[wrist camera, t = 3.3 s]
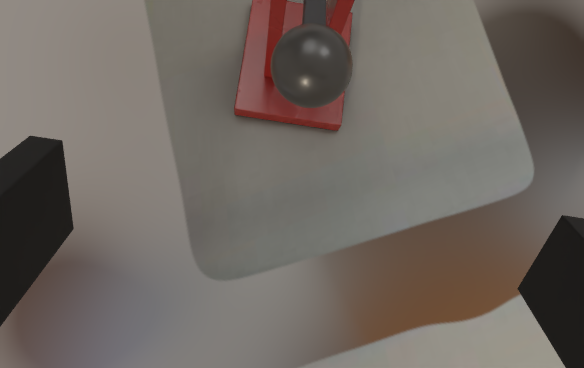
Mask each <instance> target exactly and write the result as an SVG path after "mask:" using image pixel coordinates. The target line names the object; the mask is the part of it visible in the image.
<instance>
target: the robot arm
mask: <svg viewBox="0 0 584 368" xmlns="http://www.w3.org/2000/svg"><path fill="white" fill-rule="evenodd" d="M64 159H65V158H64V151H63V143H62V140H55V139H48V138H41V137H35V136H29V137H28V138H27V139H26V140H24V141H23V142H21V143H20V144H19V145H18V146H16V147H15V148H14V149H12V150H11V151H10V152H8V153H7V154H6V155H5V156H3V157H2V158H1V159H0V326H1V325H2V323H3V322H4V321H5V319H6V318H7V317H8V315H9V314H10V313H11V311H12V310H13V309H14V307H15V306H16V304H17V303H18V302H19V301H20V300H21V298H22V297H23V295H24V294H25V293H26V292H27V290H28V289H29V288H30V286H31V285H32V284H33V282H34V281H35V280H36V278H37V277H38V275H39V274H40V273H41V271H42V270H43V269H44V267H45V266H46V265H47V263H48V262H49V261H50V259H51V258H52V257H53V256H54V254H55V253H56V252H57V250H58V249H59V248H60V246H61V245H62V243H63V242H64V241H65V240H66V238H67V237H68V236H69V234H70V233H71V232H72V230H73V221H72V213H71V205H70V198H69V190H68V183H67V174H66V166H65V160H64ZM518 290H519V292H520V294H521V295H522V297H523V298H524V300H525V302H526V303H527V305H528V307H529V308H530V310H531V312H532V313H533V315H534V316H535V318H536V320H537V321H538V323H539V325H540V326H541V328H542V330H543V331H544V333H545V334H546V336H547V338H548V339H549V341H550V343H551V344H552V346H553V348H554V349H555V351H556V352H557V354H558V356H559V357H560V359H561V361H562V362H563V364H564V366H565V367H566V368H584V219H583V218H576V217H570V216H563V215H562V216H561V218H560V220H559V221H558V223H557V225H556V226H555V228H554V230H553V231H552V233H551V234H550V236H549V238H548V239H547V241H546V243H545V244H544V246H543V248H542V249H541V251H540V252H539V254H538V256H537V258H536V259H535V261H534V262H533V264H532V266H531V267H530V269H529V271H528V272H527V274H526V276H525V277H524V279H523V281H522V282H521V284H520V285H519V287H518Z"/></svg>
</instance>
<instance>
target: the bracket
mask: <svg viewBox="0 0 584 368" xmlns="http://www.w3.org/2000/svg"><path fill="white" fill-rule="evenodd" d="M353 3H354V0H327V3H326V26H328V27H330V28H332V29H334V30H335V31H336V32H338V33H339V34H340V35H341V36H342V37H343V38H344V40H345V41H346V43H347V45H348V47H349V43H350V33H351V23H352V13H351V12H350V11H351V8H352V6H353ZM302 16H303V4H301V3H295V2H290V1H287V0H253V1H252V7H251V13H250V19H249V24H248V30H247V36H246V42H245V48H244V54H243V60H242V66H241V72H240V77H239V83H238V89H237V95H236V101H235V107H234V112H235V115H241V116H247V117H253V118H260V119H266V120H273V121H279V122H285V123H292V124H298V125H304V126H311V127H317V128H324V129H330V130H336V131H338V130H339V128H340V126H341V122H342V112H343V102H344V93H345V90H344V92H343V93H342V94H341V95H340V96H339V97H338V98H337V99H336V100H334V101H333V102H331V103H330V104H327V105H325V106H322V107H317V108H304V107H300V106H297V105H295V104H293V103H291V102H289V101H288V100H287V99H285V98H284V97H283V96H282V95H281V94H280V92H279V91H278V89H277V88H276V86H275V84H274V82H273V79H272V75H271V57H272V53H273V50H274V48H275V46H276V44H277V42H278V41H279V40H280V38H281V37H282V36H283V35H284V34H285V33H286V32H287V31H289V30H290V29H292V28H294V27H296V26H298V25H301V24H302Z"/></svg>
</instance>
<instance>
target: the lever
mask: <svg viewBox="0 0 584 368" xmlns="http://www.w3.org/2000/svg"><path fill="white" fill-rule="evenodd" d="M352 66H353V63H352V56H351V52H350V49H349V47H348V45H347V43H346V41H345V40H344V38H343V37H342V36H341V35H340V34H339V33H338V32H336V31H335V30H334V29H332V28H330V27H328V26H326V0H304V4H303V16H302V24H301V25H298V26H296V27H294V28H292V29H290V30H289V31H287V32H286V33H285V34H284V35H283V36H282V37H281V38H280V40H279V41H278V42H277V44H276V46H275V48H274V50H273V53H272V57H271V75H272V79H273V82H274V84H275V86H276V88H277V89H278V91H279V92H280V94H281V95H282V96H283V97H284V98H285V99H287V100H288V101H289V102H291V103H293V104H295V105H297V106H300V107H304V108H317V107H322V106H325V105H327V104H330V103H331V102H333V101H334V100H336V99H337V98H338V97H339V96H340V95H341V94H342V93H343V92H344V90H345V89H346V87H347V85H348V84H349V81H350V78H351V74H352Z"/></svg>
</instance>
